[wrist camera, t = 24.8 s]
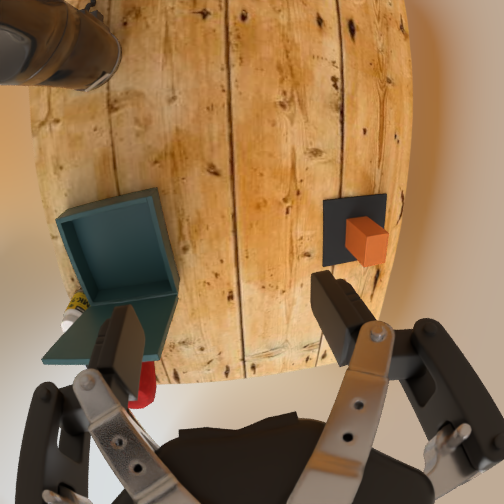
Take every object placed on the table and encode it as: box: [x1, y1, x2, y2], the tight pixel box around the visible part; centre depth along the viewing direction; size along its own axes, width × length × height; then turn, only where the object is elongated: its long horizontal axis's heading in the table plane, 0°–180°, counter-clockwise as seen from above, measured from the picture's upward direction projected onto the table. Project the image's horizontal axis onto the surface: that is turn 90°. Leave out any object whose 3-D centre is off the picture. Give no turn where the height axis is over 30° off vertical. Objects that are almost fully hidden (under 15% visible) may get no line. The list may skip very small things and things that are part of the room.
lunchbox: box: [55, 187, 180, 306], centre depth 39 cm, size 16×16×4 cm
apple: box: [128, 361, 156, 409], centre depth 45 cm, size 10×10×14 cm
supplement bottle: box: [61, 290, 90, 333], centre depth 40 cm, size 5×5×8 cm
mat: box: [323, 194, 387, 267], centre depth 46 cm, size 12×12×1 cm
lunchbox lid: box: [41, 294, 178, 368], centre depth 33 cm, size 16×16×5 cm
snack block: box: [345, 216, 389, 267], centre depth 42 cm, size 5×4×7 cm
